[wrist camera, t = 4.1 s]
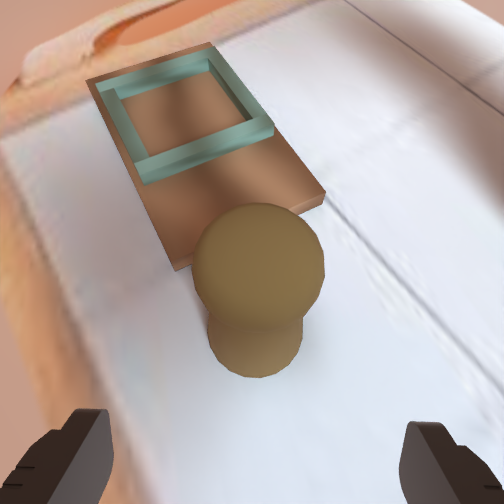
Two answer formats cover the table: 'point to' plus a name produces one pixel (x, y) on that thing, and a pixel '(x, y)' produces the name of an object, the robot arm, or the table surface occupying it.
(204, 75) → the holder plate
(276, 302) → the cork
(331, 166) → the table surface
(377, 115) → the table surface
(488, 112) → the table surface
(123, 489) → the table surface
